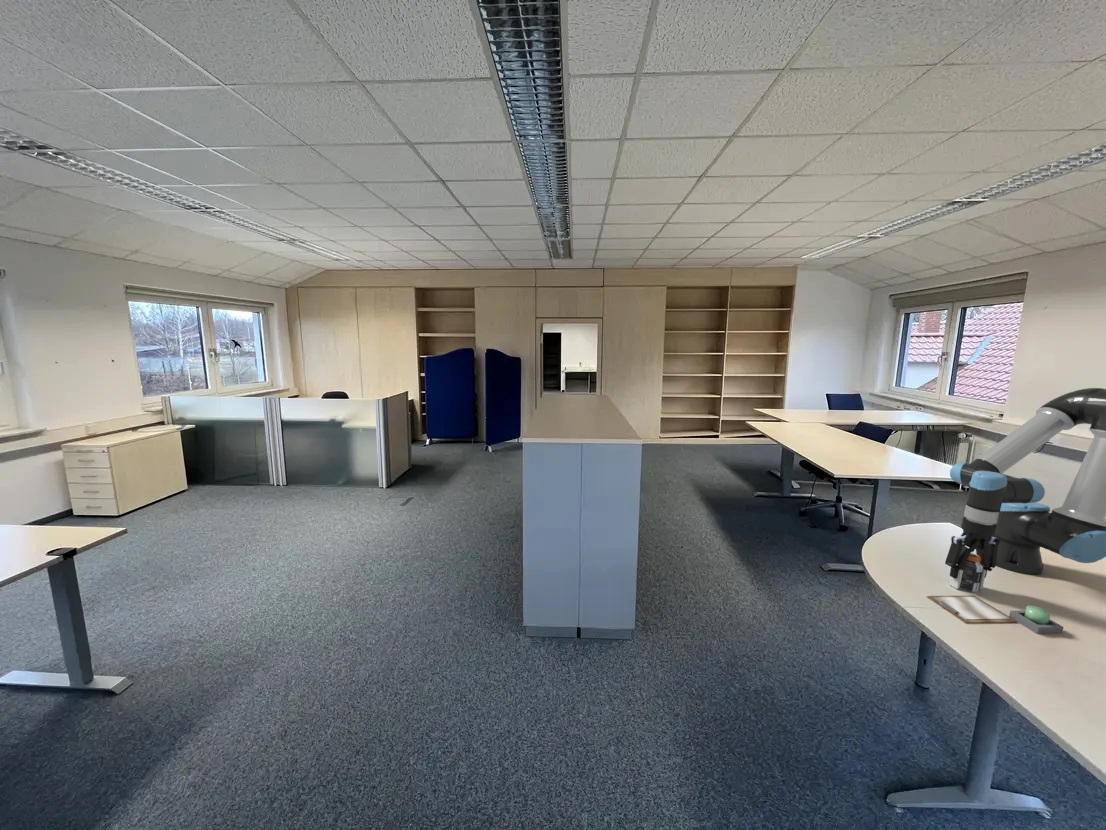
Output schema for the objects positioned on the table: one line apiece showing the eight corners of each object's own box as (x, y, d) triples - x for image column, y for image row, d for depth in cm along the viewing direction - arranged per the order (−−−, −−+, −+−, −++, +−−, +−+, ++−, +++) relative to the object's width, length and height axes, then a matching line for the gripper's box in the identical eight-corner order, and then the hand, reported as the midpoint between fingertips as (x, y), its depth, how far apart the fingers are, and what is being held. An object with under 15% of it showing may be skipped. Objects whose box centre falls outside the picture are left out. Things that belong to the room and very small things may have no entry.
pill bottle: (983, 593, 131) (991, 560, 129) (961, 591, 132) (968, 558, 130) (969, 582, 137) (976, 551, 135) (948, 580, 138) (954, 549, 136)
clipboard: (973, 596, 130) (974, 593, 130) (1016, 622, 118) (1017, 619, 118) (926, 597, 129) (927, 594, 129) (965, 623, 117) (966, 620, 117)
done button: (1034, 614, 119) (1036, 605, 118) (1052, 625, 115) (1055, 615, 114) (1019, 615, 119) (1021, 605, 118) (1037, 625, 115) (1040, 616, 114)
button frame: (1032, 616, 121) (1033, 610, 120) (1061, 633, 114) (1063, 627, 113) (1008, 616, 120) (1010, 610, 120) (1037, 633, 114) (1038, 627, 113)
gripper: (997, 515, 134) (982, 579, 139) (937, 515, 134) (925, 579, 138) (1024, 525, 127) (1007, 593, 131) (961, 525, 126) (946, 593, 131)
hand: (965, 586), depth 135 cm, fingers open, 7 cm apart
